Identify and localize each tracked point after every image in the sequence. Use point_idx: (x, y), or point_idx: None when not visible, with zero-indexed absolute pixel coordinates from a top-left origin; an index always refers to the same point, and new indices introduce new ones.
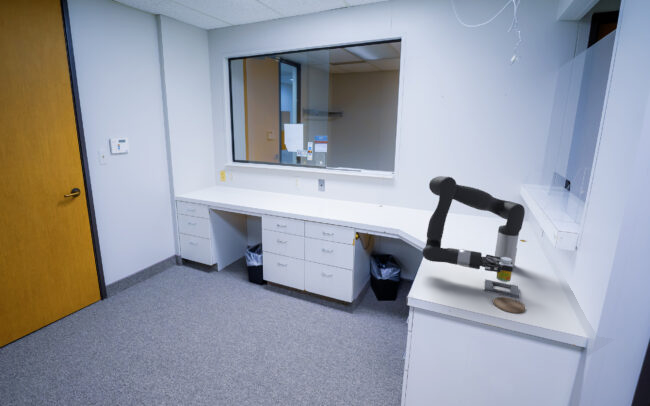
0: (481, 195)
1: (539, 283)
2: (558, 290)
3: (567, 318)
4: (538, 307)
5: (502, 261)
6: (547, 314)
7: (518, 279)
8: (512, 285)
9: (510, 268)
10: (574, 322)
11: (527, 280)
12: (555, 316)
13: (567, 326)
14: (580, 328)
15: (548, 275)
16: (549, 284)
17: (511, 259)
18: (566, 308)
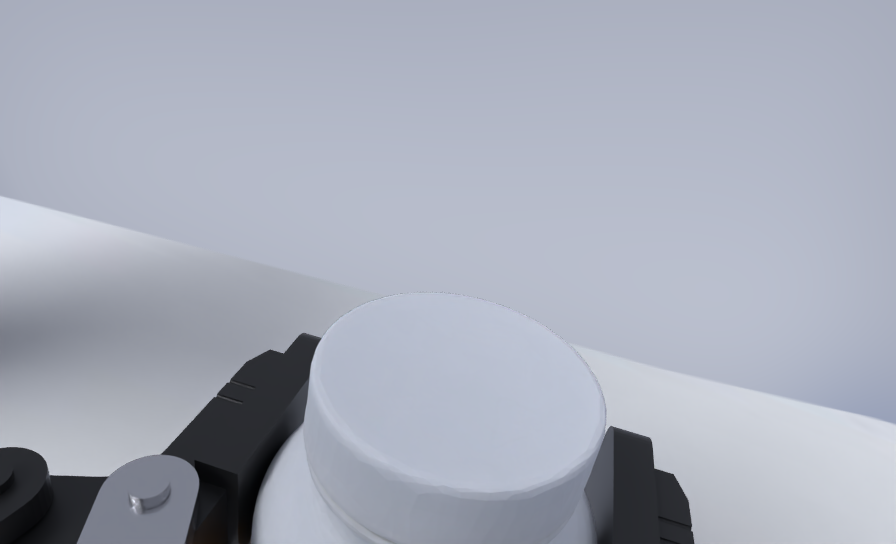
0: None
1: (187, 324)
2: (313, 284)
3: (747, 414)
4: (693, 525)
5: (537, 540)
6: (786, 510)
7: (57, 435)
8: None
9: (678, 493)
10: (777, 404)
11: (106, 373)
12: (776, 470)
13: (881, 464)
14: (839, 410)
15: (53, 228)
16: (212, 283)
17: (479, 299)
18: (589, 359)
